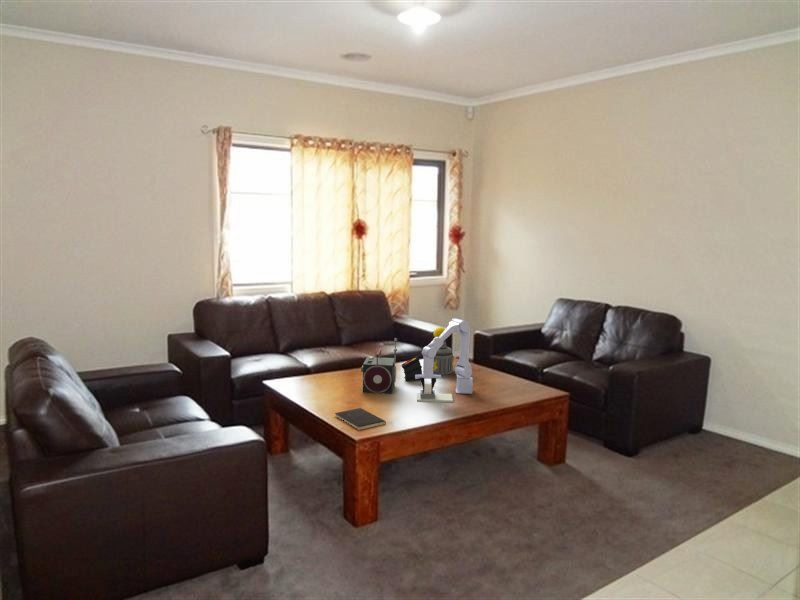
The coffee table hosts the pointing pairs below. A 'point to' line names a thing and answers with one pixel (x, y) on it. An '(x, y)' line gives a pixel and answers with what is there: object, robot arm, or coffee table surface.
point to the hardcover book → (360, 418)
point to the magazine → (412, 369)
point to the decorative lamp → (443, 357)
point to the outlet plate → (434, 397)
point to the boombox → (379, 374)
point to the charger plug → (427, 388)
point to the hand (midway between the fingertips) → (427, 391)
